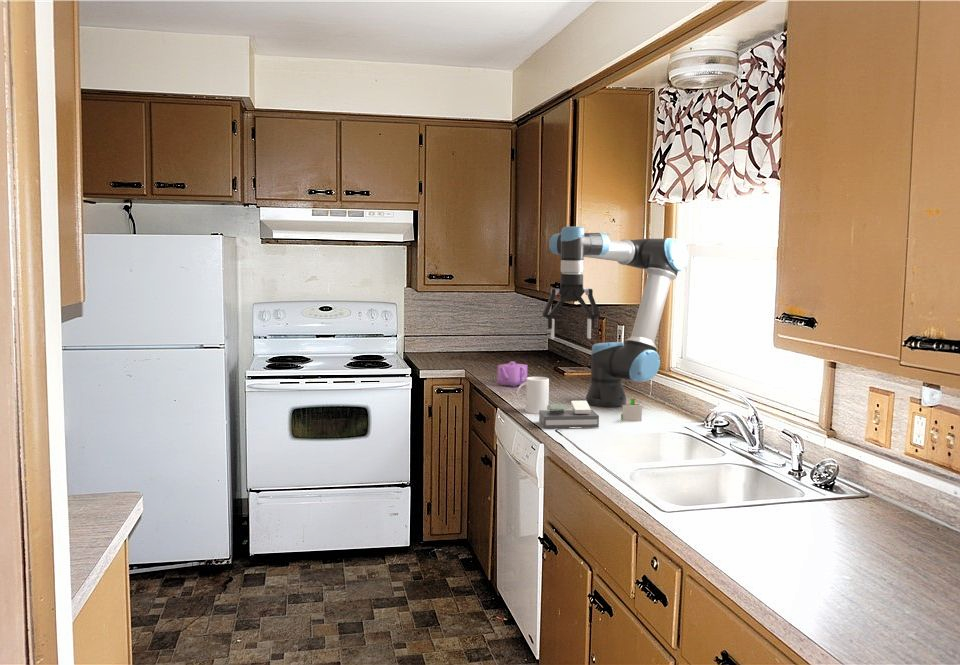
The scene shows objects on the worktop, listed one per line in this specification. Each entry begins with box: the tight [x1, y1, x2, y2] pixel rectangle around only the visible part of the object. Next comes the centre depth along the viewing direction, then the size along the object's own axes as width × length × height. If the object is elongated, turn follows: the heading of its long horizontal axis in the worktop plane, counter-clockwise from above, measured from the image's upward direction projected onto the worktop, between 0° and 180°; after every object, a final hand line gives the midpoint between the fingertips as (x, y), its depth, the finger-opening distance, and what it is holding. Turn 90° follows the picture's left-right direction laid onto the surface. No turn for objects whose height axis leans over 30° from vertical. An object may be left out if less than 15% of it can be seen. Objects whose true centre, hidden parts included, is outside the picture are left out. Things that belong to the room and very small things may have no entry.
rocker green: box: [547, 404, 568, 410], centre depth 268 cm, size 5×7×1 cm
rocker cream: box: [570, 400, 592, 414], centre depth 268 cm, size 5×7×1 cm
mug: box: [516, 376, 550, 415], centre depth 289 cm, size 12×8×12 cm
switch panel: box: [538, 409, 600, 430], centre depth 268 cm, size 18×10×5 cm, turn 95°
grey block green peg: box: [620, 397, 643, 422], centre depth 276 cm, size 4×7×8 cm, turn 102°
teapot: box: [496, 360, 528, 388], centre depth 342 cm, size 18×14×10 cm
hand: (570, 338), depth 270 cm, fingers open, 12 cm apart
